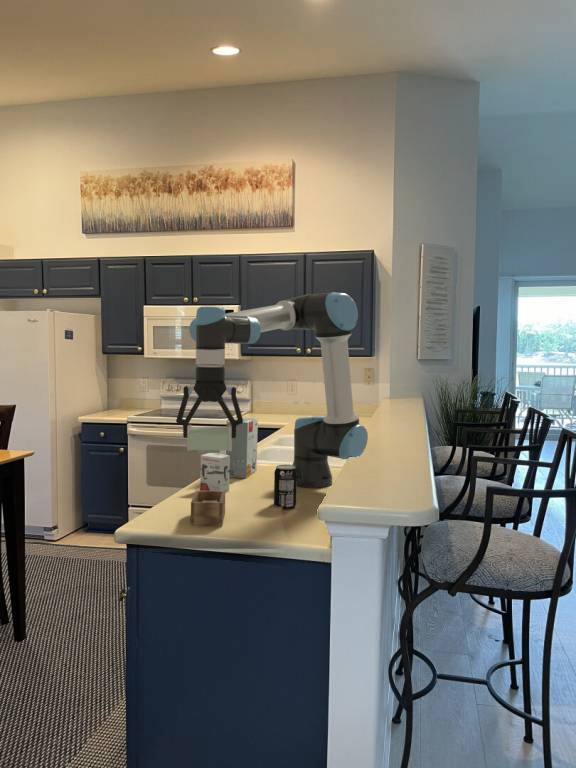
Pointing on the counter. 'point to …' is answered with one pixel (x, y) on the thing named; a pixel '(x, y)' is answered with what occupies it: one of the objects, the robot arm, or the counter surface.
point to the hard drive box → (244, 449)
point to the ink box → (214, 472)
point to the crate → (208, 509)
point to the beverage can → (285, 486)
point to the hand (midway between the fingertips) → (209, 450)
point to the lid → (208, 439)
